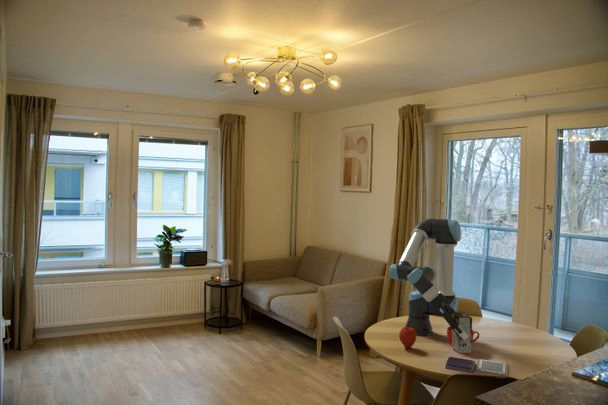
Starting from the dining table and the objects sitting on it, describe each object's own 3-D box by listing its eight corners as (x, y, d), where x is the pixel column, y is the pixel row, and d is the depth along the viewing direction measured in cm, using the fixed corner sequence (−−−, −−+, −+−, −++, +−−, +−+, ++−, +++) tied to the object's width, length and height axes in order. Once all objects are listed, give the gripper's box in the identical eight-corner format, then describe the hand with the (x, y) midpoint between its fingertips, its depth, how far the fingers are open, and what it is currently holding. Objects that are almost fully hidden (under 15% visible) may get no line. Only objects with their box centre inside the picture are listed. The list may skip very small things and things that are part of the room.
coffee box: (471, 352, 214) (473, 317, 214) (458, 352, 214) (459, 317, 213) (463, 346, 223) (464, 312, 223) (450, 346, 223) (451, 312, 222)
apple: (397, 349, 239) (398, 328, 239) (400, 344, 247) (401, 323, 247) (414, 352, 236) (415, 330, 236) (417, 346, 244) (417, 325, 244)
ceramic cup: (485, 352, 237) (486, 333, 237) (453, 354, 234) (454, 334, 234) (472, 344, 250) (472, 325, 250) (442, 345, 247) (442, 326, 247)
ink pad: (445, 368, 216) (445, 364, 216) (448, 359, 227) (448, 355, 227) (473, 372, 211) (473, 368, 211) (475, 363, 222) (475, 359, 222)
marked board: (475, 371, 213) (476, 369, 213) (478, 360, 227) (478, 358, 227) (507, 376, 208) (507, 374, 208) (507, 364, 221) (507, 363, 221)
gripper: (436, 297, 211) (472, 337, 205) (443, 287, 232) (476, 323, 227) (424, 307, 213) (459, 347, 208) (432, 297, 235) (464, 333, 229)
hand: (467, 335), depth 217 cm, fingers closed on coffee box, 11 cm apart
